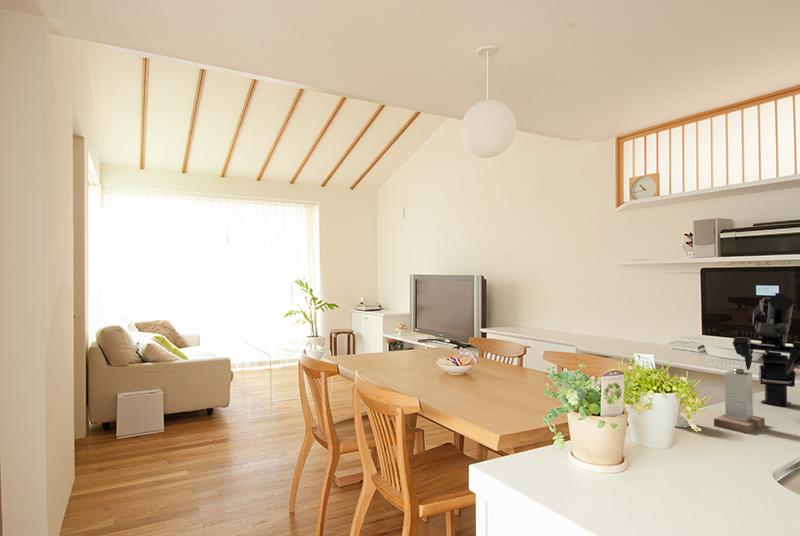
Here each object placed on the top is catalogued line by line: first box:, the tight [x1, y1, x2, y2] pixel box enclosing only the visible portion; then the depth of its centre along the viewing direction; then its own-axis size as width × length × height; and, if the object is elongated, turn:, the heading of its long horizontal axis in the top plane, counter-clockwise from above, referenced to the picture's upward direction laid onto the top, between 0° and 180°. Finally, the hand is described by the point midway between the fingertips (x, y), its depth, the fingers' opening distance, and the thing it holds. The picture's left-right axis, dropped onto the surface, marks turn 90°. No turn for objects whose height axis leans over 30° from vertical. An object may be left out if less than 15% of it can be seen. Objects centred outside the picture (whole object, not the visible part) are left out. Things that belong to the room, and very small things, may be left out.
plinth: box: [713, 413, 766, 434], centre depth 134 cm, size 12×8×2 cm, turn 126°
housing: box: [724, 368, 754, 422], centre depth 134 cm, size 5×5×14 cm
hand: (766, 371), depth 141 cm, fingers open, 9 cm apart
